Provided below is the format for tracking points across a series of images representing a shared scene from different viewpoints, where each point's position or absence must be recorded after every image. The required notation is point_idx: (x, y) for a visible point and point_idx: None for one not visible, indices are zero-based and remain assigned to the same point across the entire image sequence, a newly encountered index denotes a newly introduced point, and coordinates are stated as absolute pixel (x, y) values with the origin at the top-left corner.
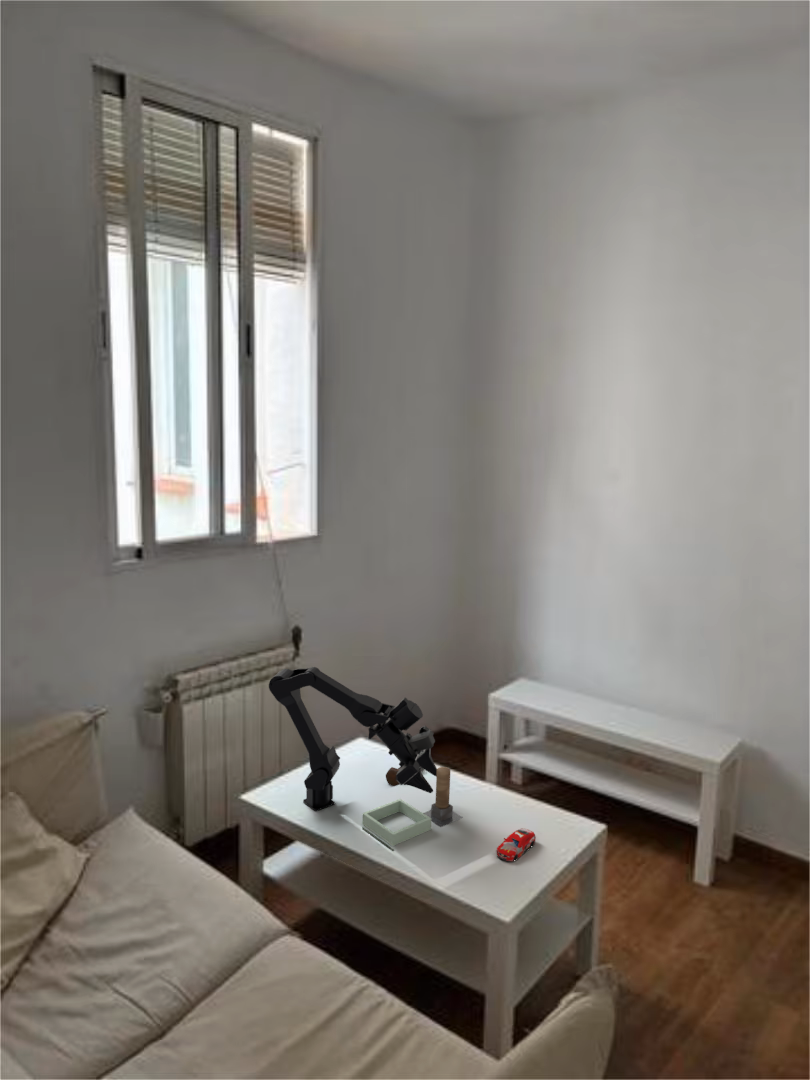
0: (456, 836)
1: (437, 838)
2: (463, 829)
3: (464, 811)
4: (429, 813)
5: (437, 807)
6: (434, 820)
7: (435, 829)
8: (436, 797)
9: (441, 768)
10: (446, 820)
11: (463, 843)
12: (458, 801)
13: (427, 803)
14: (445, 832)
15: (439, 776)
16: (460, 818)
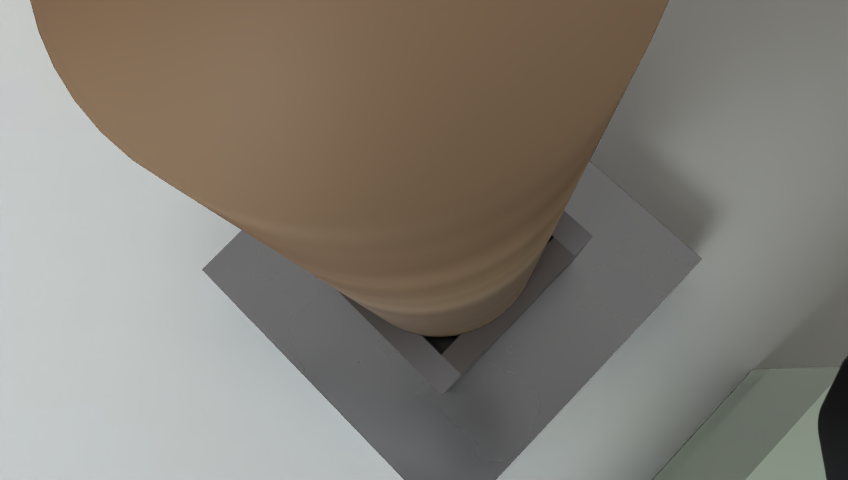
0: (720, 102)
1: (807, 291)
2: None
3: None
4: (419, 414)
5: (515, 300)
6: (570, 341)
7: None
8: (494, 308)
9: (183, 6)
10: None
11: (834, 28)
12: (33, 128)
13: (97, 457)
14: (668, 216)
15: (607, 124)
16: None
